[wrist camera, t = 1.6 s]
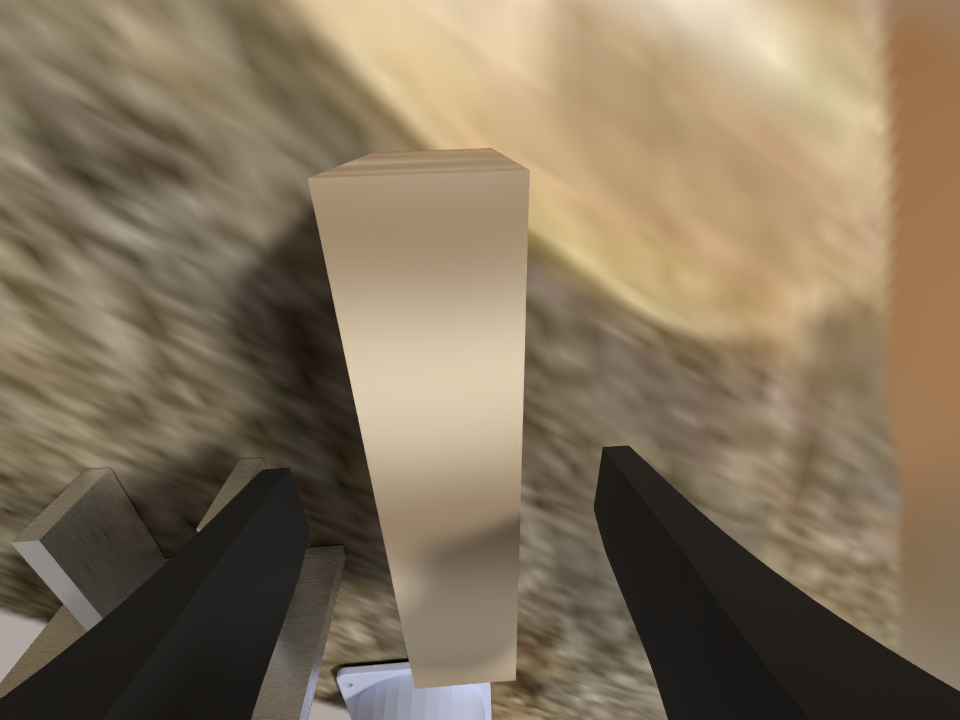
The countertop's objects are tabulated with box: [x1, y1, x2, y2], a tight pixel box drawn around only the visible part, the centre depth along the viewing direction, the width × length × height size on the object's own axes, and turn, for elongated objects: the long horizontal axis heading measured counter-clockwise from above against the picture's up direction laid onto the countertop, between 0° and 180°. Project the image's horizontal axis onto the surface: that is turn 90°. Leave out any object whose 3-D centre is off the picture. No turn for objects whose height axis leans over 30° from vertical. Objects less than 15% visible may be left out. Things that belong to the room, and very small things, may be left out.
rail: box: [308, 148, 530, 689], centre depth 12 cm, size 14×3×6 cm, turn 2°
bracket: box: [0, 458, 346, 720], centre depth 14 cm, size 6×10×6 cm, turn 92°
